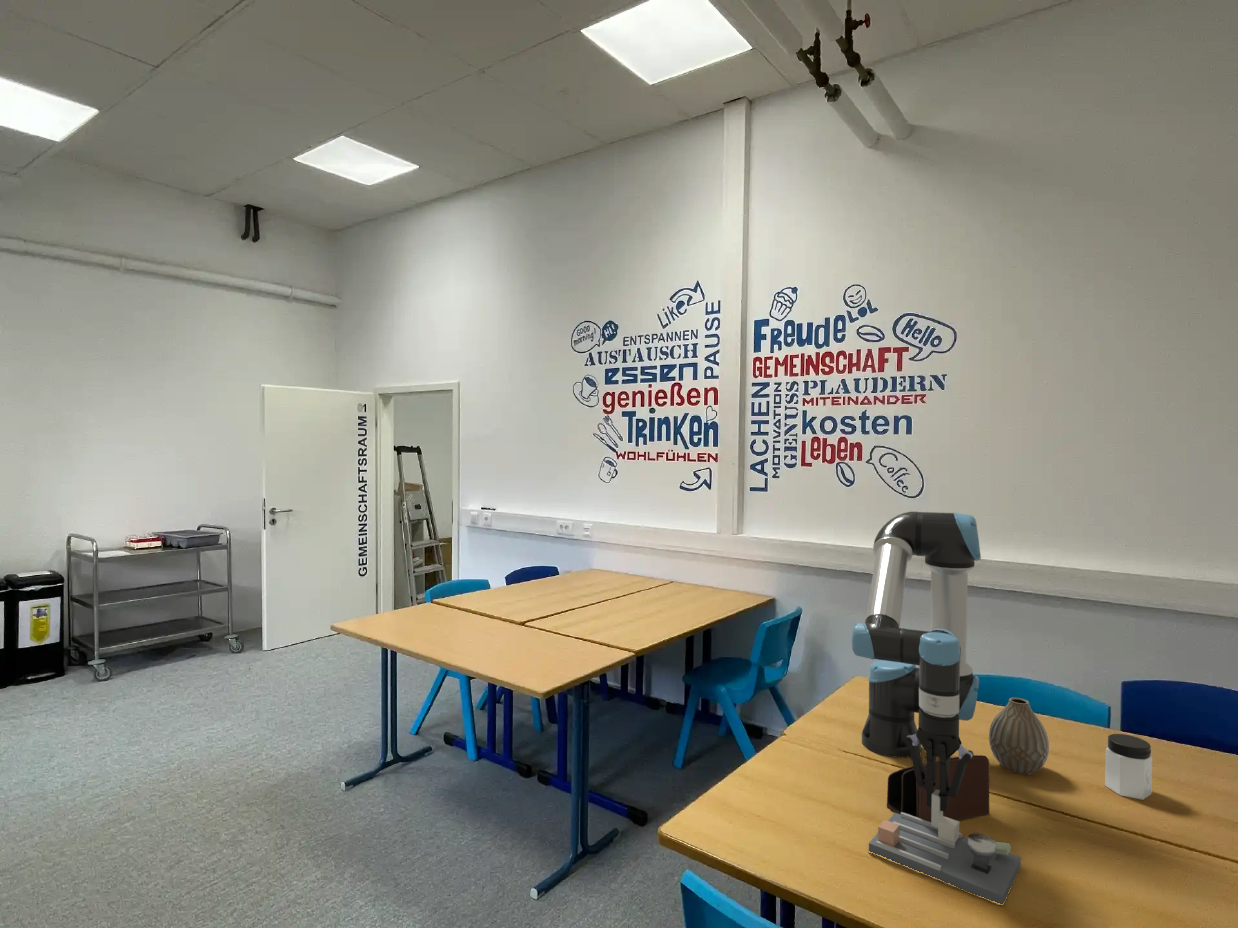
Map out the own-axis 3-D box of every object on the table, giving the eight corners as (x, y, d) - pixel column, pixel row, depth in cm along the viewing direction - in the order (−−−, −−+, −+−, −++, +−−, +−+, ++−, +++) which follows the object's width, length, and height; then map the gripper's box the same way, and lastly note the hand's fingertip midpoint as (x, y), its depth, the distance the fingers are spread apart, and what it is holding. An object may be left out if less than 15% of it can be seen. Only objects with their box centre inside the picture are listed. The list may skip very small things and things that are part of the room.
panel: (868, 852, 135) (868, 830, 135) (894, 821, 147) (895, 801, 146) (1002, 906, 119) (1003, 881, 119) (1020, 867, 131) (1021, 844, 131)
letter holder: (990, 815, 149) (991, 752, 149) (918, 831, 143) (919, 766, 143) (954, 793, 159) (955, 734, 159) (885, 807, 153) (886, 746, 152)
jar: (1141, 803, 154) (1142, 751, 154) (1100, 788, 161) (1101, 738, 161) (1156, 792, 159) (1157, 742, 159) (1116, 778, 166) (1117, 730, 165)
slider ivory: (938, 838, 136) (938, 823, 136) (943, 831, 139) (943, 816, 139) (954, 844, 134) (954, 828, 134) (959, 836, 137) (959, 821, 137)
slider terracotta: (878, 842, 135) (878, 826, 135) (884, 834, 138) (884, 819, 138) (893, 848, 133) (893, 832, 133) (899, 840, 136) (899, 824, 136)
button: (964, 864, 127) (965, 840, 127) (971, 853, 131) (971, 830, 131) (991, 874, 124) (992, 850, 124) (997, 863, 128) (998, 839, 128)
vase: (1038, 786, 162) (1039, 715, 161) (980, 767, 171) (981, 699, 171) (1055, 769, 170) (1057, 701, 170) (999, 751, 180) (1000, 687, 180)
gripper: (899, 707, 139) (898, 819, 139) (968, 725, 130) (966, 844, 131) (911, 697, 144) (910, 805, 145) (978, 713, 136) (976, 827, 137)
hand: (937, 823), depth 138 cm, fingers closed
